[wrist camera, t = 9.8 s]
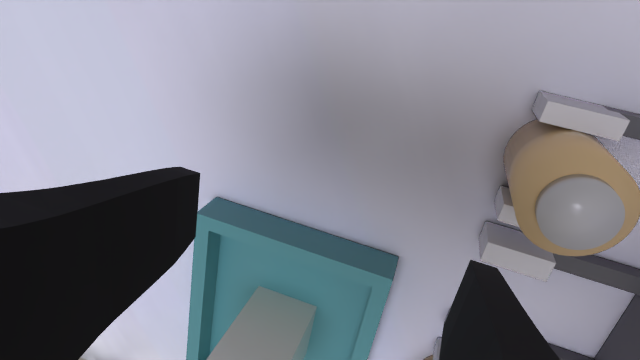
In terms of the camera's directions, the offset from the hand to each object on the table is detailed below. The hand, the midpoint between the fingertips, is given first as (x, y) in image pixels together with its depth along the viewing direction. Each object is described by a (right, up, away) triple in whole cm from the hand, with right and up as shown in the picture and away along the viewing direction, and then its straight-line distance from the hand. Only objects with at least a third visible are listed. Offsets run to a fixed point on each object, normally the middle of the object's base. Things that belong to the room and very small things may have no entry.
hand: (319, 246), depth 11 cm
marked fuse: (-2, -7, +15) cm, 16 cm away
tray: (-2, -6, +15) cm, 17 cm away
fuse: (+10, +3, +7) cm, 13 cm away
